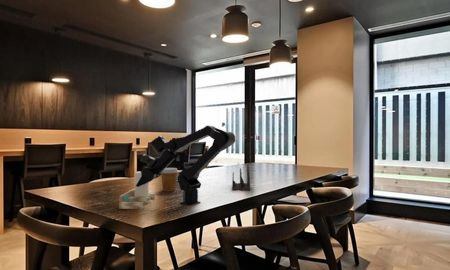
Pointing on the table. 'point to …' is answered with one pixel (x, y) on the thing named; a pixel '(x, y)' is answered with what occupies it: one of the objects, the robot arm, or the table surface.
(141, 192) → the plug block
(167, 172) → the disposable coffee cup
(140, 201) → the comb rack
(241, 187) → the letter holder
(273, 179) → the table surface
